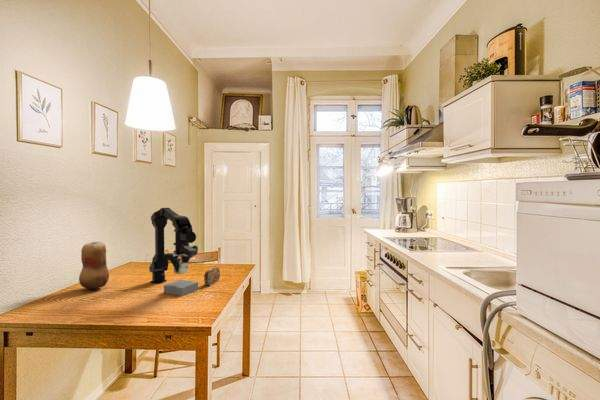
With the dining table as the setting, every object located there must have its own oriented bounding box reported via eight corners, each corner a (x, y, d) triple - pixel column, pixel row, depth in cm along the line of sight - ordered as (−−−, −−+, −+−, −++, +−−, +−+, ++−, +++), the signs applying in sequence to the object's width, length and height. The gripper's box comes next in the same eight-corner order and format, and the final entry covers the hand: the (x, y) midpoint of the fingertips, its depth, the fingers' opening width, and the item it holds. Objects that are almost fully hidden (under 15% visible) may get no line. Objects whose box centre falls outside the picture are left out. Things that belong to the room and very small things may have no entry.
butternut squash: (73, 293, 168) (73, 244, 168) (86, 286, 181) (86, 240, 181) (103, 292, 170) (102, 244, 170) (113, 285, 183) (113, 240, 183)
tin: (208, 287, 181) (208, 272, 181) (203, 287, 182) (203, 271, 182) (220, 280, 196) (220, 266, 196) (215, 279, 197) (215, 265, 197)
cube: (173, 273, 172) (173, 263, 172) (180, 271, 177) (180, 261, 176) (181, 274, 170) (181, 264, 170) (188, 272, 175) (188, 262, 175)
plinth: (163, 293, 170) (163, 285, 170) (180, 286, 181) (180, 279, 181) (182, 296, 166) (182, 288, 166) (198, 289, 177) (198, 282, 177)
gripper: (180, 244, 161) (180, 276, 162) (205, 239, 178) (205, 268, 179) (162, 242, 166) (162, 274, 166) (188, 238, 183) (188, 266, 183)
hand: (181, 270), depth 173 cm, fingers closed on cube, 5 cm apart
